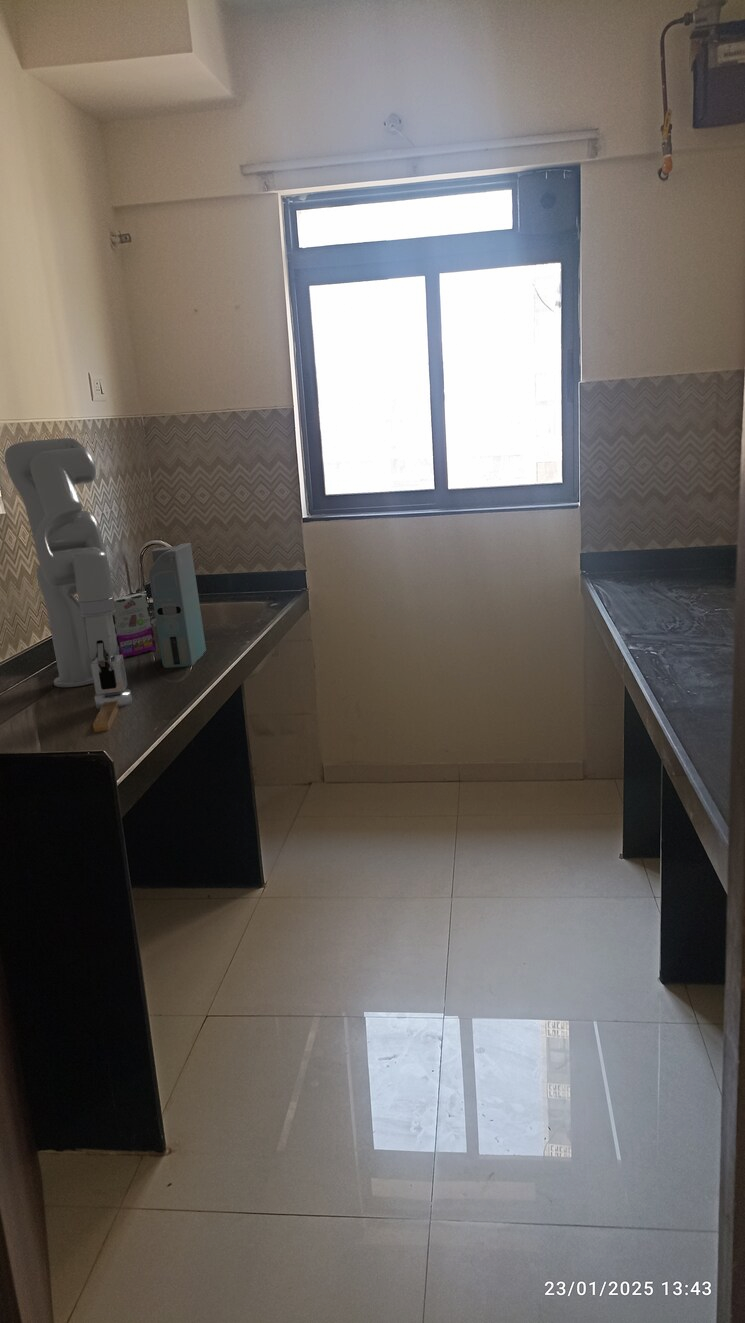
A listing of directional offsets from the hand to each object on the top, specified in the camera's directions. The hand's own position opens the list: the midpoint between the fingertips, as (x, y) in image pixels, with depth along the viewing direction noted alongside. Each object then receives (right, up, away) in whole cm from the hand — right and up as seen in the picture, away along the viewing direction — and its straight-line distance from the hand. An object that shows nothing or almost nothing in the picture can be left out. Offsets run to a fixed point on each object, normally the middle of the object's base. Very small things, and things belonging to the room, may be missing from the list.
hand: (111, 684), depth 210 cm
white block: (0, -1, 0) cm, 1 cm away
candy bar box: (-8, +7, +51) cm, 52 cm away
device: (+9, +5, +39) cm, 40 cm away
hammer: (+2, -7, -7) cm, 9 cm away
